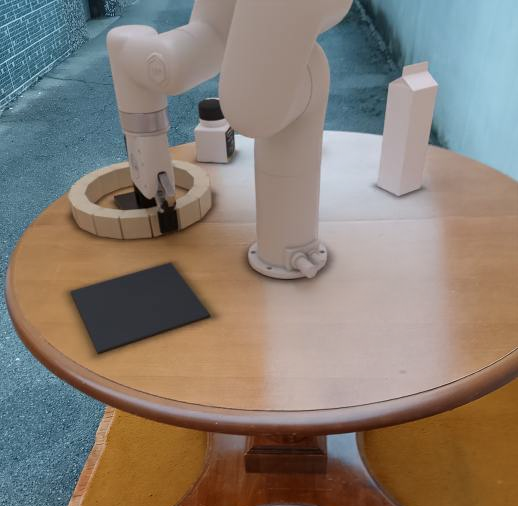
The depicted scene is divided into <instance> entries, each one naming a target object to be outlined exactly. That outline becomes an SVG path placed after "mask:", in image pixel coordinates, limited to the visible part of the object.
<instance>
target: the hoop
mask: <svg viewBox="0 0 518 506" xmlns="http://www.w3.org/2000/svg"><path fill="white" fill-rule="evenodd" d="M172 166H173V172H174V180H175V186H177V187H180V188H183V189H185V190H188V192H187V193H186V194H185V195H182V196H181V197H178V198H176V199H175V200H176V201H175V202H176V206H177V217H178V225H179V229H178V230H177V231H180V230H183V229H185V228H187V227H189V226H190V225H193V224H194V223H196V222H199V221H200V220H201V219H203V218H204V217H205V215H206V214H207V213H208V212H209V210H210V209H211V208H212V206H213V205H212V204H213V203H212V202H213V201H212V188H211V177H210V174H208V172H206V171H205V170H204V169H203V168H202V167H201V166H199V165H196V164H194V163H190V162H187V161H184V160H180V159H179V160H178V159H172ZM128 187H133V182H132V179H131V174H130V167H129V162H128V160H127V161H122V162H118V163H112V164H109V165H106V166H103V167H100V168H98V169H96V170H92V171H91V172H88V173H86V174H85V175H83V176H82V177H81V178H80V179H78V180H76V182H74V183H73V184H72V185H71V188H70V189H69V192H68V194H67V198H68V202H69V206H70V209H71V213H72V216H73V219H74V220H75V222H76V224H77V225H78V227H79V228H80V229H81V230H84V231H86V232H88V233H90V234H92V235H94V236H98V237H103V238H111V239H117V240H118V239H119V240H123V239H124V240H133V239H147V238H153V237H159V236H163V235H167V234H171V232H169V233H165V234H162V233H161V232H160V228H159V222H158V215H157V211H159V209H158V206H156V207H152V208H148V209H136V210H120V209H117V208H116V209H115V208H108V207H103V206H101V205H98V204H96V202H97V201H99V200H100V199H101V198H102V197H104V196H105V195H108V194H110V193H112V192H115V191H117V190H119V189H124V188H128ZM177 231H176V232H177ZM173 232H174V233H175V231H173ZM173 232H172V233H173Z"/></svg>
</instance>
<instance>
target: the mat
mask: <svg viewBox="0 0 518 506" xmlns="http://www.w3.org/2000/svg"><path fill="white" fill-rule="evenodd" d="M70 294H71V297H72V299H73V301H74V303H75V306H76V308H77V311H78V312H79V314H80V316H81V319H82V321H83V323H84V325H85V328H86V330H87V332H88V334H89V337H90V339H91V342H92V343H93V346H94V348H95V350H96V353H97V354H99V355H100V354H102V353H104V352H105V353H106V352H108V351H111V350H114V349H117V348H120V347H123V346H127V345H129V344H132V343H136V342H138V341H141V340H145V339H147V338H150V337H153V336H156V335H160V334H162V333H165V332H168V331H169V332H170V331H171V330H175V329H177V328H180V327H184V326H185V325H190V324H192V323H196V322H198V321H202V320H204V319H208V318H210V317H211V313H210V312H209V310H207V308H206V307H205V305H203V303H202V302H201V300H200V299H199V297H198V296H197V295H196V294H195V292H194V291H193V289H192V288H190V286H189V285H188V283H187V282H186V280H185V279H184V278H183V277H182V276H181V274H180V272H178V270H177V268H176V267H175V266H174V265H173V263H172V262H167V263H163V264H159V265H156V266H153V267H148V268H146V269H141V270H140V271H136V272H133V273H128V274H124V275H122V276H118V277H115V278H111V279H108V280H105V281H101V282H97V283H94V284H90V285H86V286H83V287H79V288H76V289H73V290H70Z"/></svg>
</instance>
